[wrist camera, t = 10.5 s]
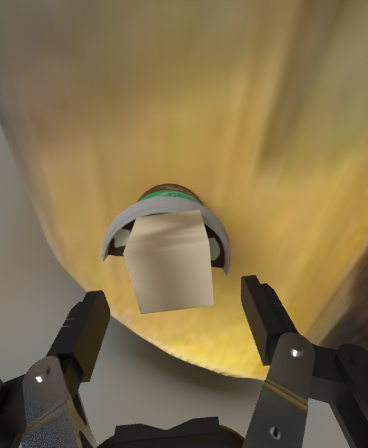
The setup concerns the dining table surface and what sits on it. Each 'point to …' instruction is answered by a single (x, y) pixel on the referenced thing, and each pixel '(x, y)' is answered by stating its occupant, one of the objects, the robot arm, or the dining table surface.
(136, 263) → the beige cube
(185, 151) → the dining table surface
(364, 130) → the dining table surface
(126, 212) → the food container
